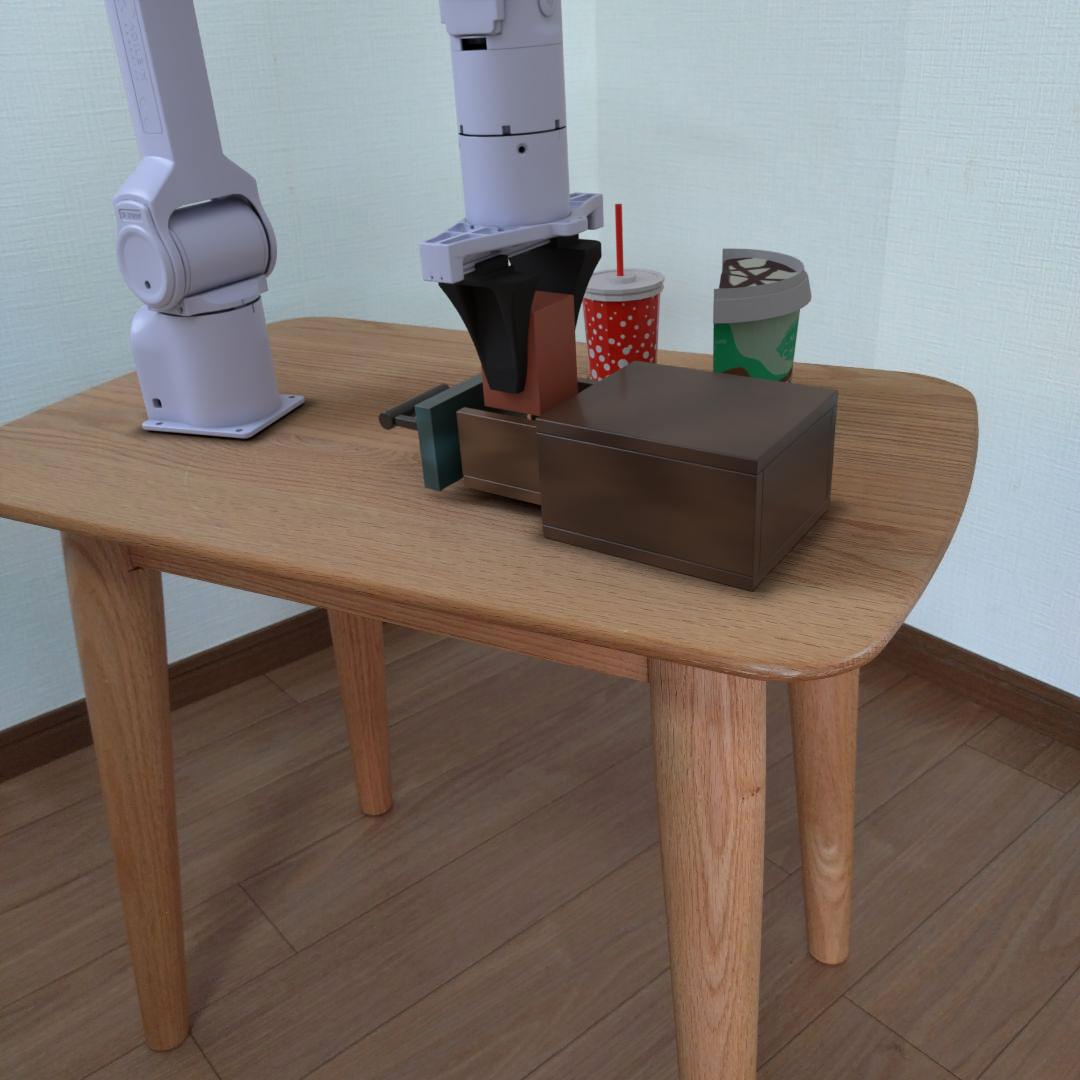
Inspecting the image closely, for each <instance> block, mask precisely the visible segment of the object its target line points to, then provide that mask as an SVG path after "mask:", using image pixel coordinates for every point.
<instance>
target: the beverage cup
mask: <svg viewBox="0 0 1080 1080" xmlns="http://www.w3.org/2000/svg"><path fill="white" fill-rule="evenodd" d="M614 213H615V214H614V216H615V217H614V220H615V257H616V268H610V269H602V270H597V271H594V272H593V274H592V277H591V279H590V281H589V284H588V286H587V289H586V292H585V294H584V297H583V301H582V304H581V307H582V315H583V321H584V322H583V324H584V334H585V342H586V351H587V362H588V371H589V379H592V380H598V381H601V380H602V379H604V378H606V377H607V376H609V375H611V374H613V373H614V372H616V371H618V370H619V369H621V368H623V367H625V366H626V365H628V364H630V363H632V362H633V361H641V362H648V363H655V364H658V350H659V349H658V347H659V345H658V344H659V331H660V330H659V329H660V310H661V309H660V306H661V294H662V293H663V291H664V289H665V285H664V282H665V275H664V274H663V273H661V272H659V271H656V270H653V269H647V268H635V267H630V268H629V267H624V266H625V265H624V234H623V229H624V228H623V204H622V203H614Z"/></svg>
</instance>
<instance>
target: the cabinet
mask: <svg viewBox="0 0 1080 1080" xmlns="http://www.w3.org/2000/svg"><path fill="white" fill-rule="evenodd" d="M838 399H839V389H834V388H829V387H823V386H822V387H821V386H814V385H807V384H800V383H792V382H791V383H787V382H780V381H773V380H766V379H759V378H752V377H745V376H738V375H731V374H724V373H717V372H713V371H711V370H710V371H709V370H703V369H698V368H697V369H696V368H690V367H683V366H675V365H668V364H661V363H657V364H655V363H648V362H641V361H633V362H632V363H630V364H628V365H626V366H625V367H623V368H621V369H619V370H618V371H616V372H614V373H613V374H611V375H609V376H607V377H606V378H604V379H602V380H601V381H599V382H597V383H595V384H594V385H592V386H590V387H589V388H587V389H585V390H583V391H582V392H580V393H578V394H576V395H575V396H573V397H571V398H570V399H568V400H566V401H564V402H563V403H561V404H559V405H558V406H556V407H554V408H552V409H551V410H549V411H547V412H546V413H544V414H542V415H540V416H539V417H537V418H536V419H535V423H536V432H537V433H536V438H537V452H538V467H539V482H540V496H541V505H540V509H541V523H542V536H543V538H546V539H551V540H556V541H558V542H562V543H566V544H568V545H569V544H570V545H574V546H578V547H580V548H585V549H588V550H593V551H597V552H600V553H605V554H608V555H612V556H616V557H620V558H624V559H628V560H630V561H635V562H639V563H642V564H646V565H651V566H654V567H658V568H662V569H665V570H670V571H674V572H677V573H681V574H685V575H690V576H693V577H696V578H700V579H705V580H707V581H712V582H716V583H720V584H723V585H727V586H730V587H731V586H732V587H735V588H739V589H742V590H746V591H750V592H752V591H754V589H756V588H757V587H758V586H759V584H761V582H762V581H763V580H764V579H765V578H766V577H767V575H769V573H771V572H772V571H773V569H775V567H776V566H777V565H778V564H779V563H780V562H781V561H782V560H783V558H784V557H786V555H787V554H788V553H790V551H791V550H792V549H793V548H794V547H795V546H796V544H798V542H799V541H801V540H802V539H803V537H804V536H805V535H806V534H807V533H808V532H809V531H810V530H811V528H812V527H813V526H814V525H815V524H816V523H817V522H818V521H819V520H820V519H821V518H822V517H823V516H824V514H825V513H827V511H829V509H830V508H831V507H830V506H831V494H832V481H833V470H834V469H833V467H834V454H835V441H836V440H835V439H836V427H837V417H838V416H837V414H838V402H839V401H838Z"/></svg>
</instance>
